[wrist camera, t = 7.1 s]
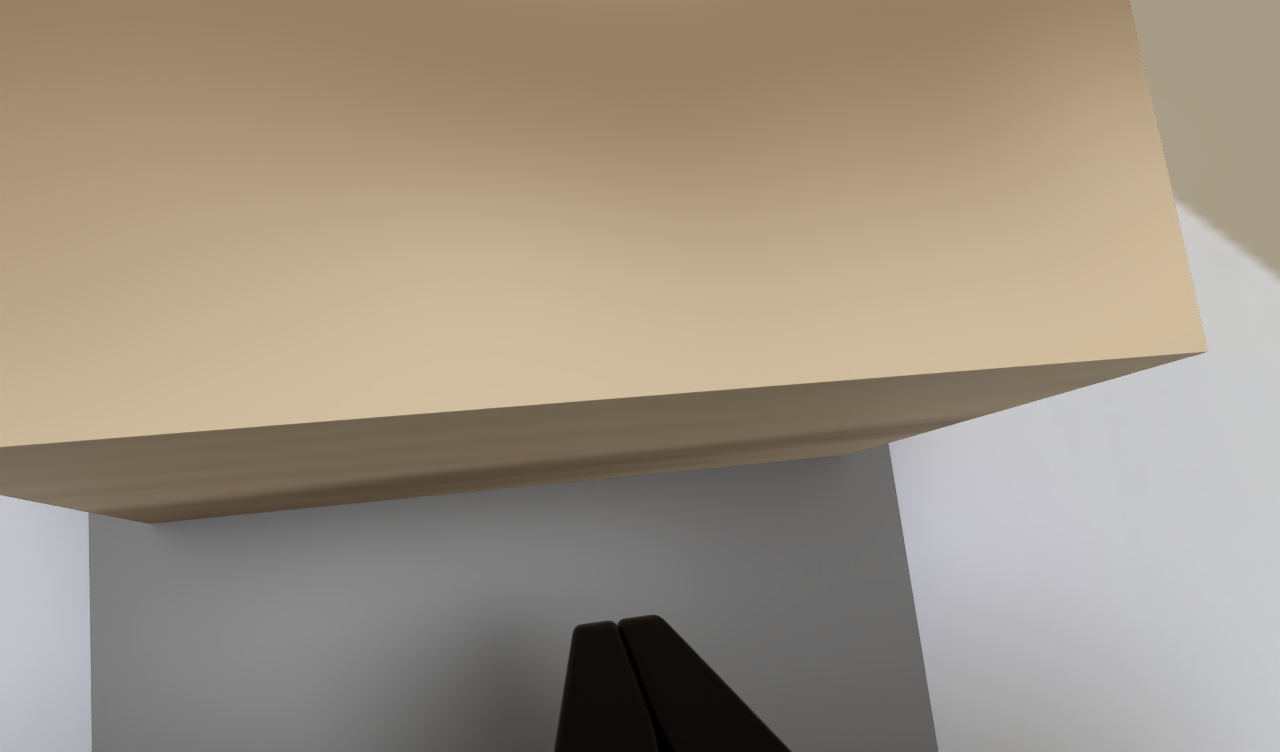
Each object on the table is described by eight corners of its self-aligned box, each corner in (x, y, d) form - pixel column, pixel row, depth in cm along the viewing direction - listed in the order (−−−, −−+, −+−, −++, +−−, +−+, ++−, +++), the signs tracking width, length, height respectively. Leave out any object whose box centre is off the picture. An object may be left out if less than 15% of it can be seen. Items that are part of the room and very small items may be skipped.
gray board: (938, 829, 16) (951, 835, 16) (105, 997, 13) (95, 1010, 13) (833, 171, 18) (843, 163, 18) (92, 190, 15) (83, 180, 15)
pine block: (845, 454, 17) (1207, 352, 9) (148, 523, 14) (-175, 460, 6) (796, 128, 18) (1081, -213, 10) (138, 137, 15) (-148, -311, 7)
